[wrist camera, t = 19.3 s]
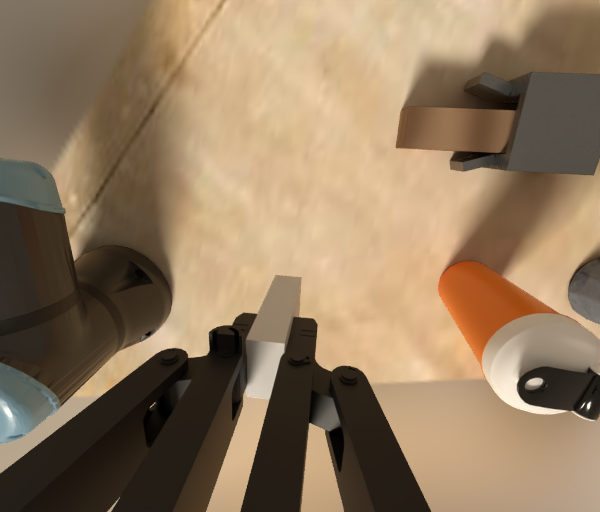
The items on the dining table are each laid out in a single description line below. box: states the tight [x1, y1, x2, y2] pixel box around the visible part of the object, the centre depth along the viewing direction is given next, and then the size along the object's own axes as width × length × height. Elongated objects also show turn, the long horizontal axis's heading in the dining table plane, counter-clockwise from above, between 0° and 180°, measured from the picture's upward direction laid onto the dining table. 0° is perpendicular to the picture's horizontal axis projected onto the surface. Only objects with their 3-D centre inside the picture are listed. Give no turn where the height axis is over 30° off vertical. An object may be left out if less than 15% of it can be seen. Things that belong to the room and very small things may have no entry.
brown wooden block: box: [396, 106, 516, 154], centre depth 35 cm, size 14×4×5 cm, turn 88°
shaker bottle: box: [438, 261, 600, 421], centre depth 33 cm, size 9×9×20 cm
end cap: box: [450, 72, 600, 175], centre depth 33 cm, size 11×10×7 cm
